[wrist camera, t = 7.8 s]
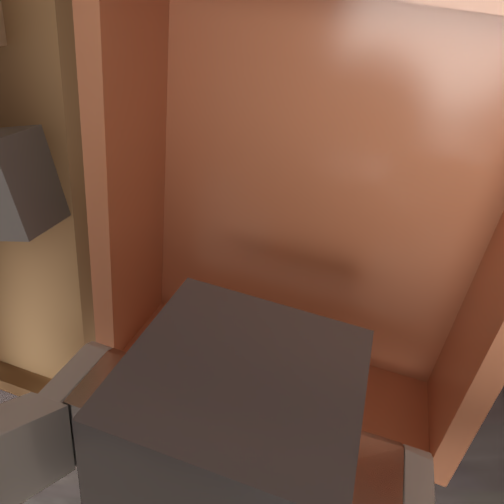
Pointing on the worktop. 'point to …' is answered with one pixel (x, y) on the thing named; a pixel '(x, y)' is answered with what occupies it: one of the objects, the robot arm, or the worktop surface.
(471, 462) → the worktop surface
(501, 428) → the worktop surface
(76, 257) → the oak tray
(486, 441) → the worktop surface
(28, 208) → the light grey block
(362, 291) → the terracotta dish
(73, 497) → the worktop surface
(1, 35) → the beige cube
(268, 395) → the charcoal cube
